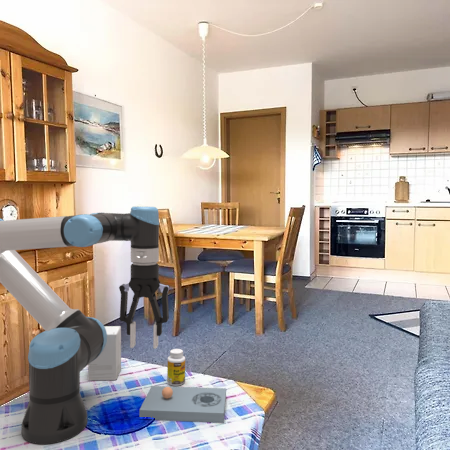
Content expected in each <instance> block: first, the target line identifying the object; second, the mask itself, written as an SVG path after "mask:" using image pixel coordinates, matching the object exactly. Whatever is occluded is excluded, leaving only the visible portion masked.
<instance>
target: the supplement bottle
mask: <svg viewBox="0 0 450 450" xmlns="http://www.w3.org/2000/svg"><path fill="white" fill-rule="evenodd" d="M169 352H170V353H169V356H168V357H167V371H166V372H167V375H166V376H167V377H166V379H167V384H168V386H172V387H181V385H184V384H185V382H186V356H184V351H183V349H181V348H173V349H171V350H170V351H169Z"/></svg>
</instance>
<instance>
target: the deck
mask: <svg viewBox="0 0 450 450" xmlns="http://www.w3.org/2000/svg"><path fill="white" fill-rule="evenodd" d="M165 387H170V388H171V389H172V390H173V394H172V396H171V397H170V398H168V399H166V398H164V397H163V396H162V390H163V389H164V388H165ZM226 401H227V388H226V387H225V388H223V387H222V388H221V387H220V388H218V387H197V386H196V387H195V386H172V385H167V386H166V385H151V386H150V388H149V390H148V392H147V394H146V396H145V399H144V400H143V402H142V403H141V406H140V408H139V412H138V413H139V415H138V416H139V417H151V418H152V417H153V418H155V420H154V421H171V422H172V421H173V422H194V423H195V422H199V423H221V424H222V423H223V424H224V421H225V413H226Z"/></svg>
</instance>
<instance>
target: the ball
mask: <svg viewBox="0 0 450 450" xmlns="http://www.w3.org/2000/svg"><path fill="white" fill-rule="evenodd" d="M172 394H173V390H172V389H171V388H170V387H165V388H164V389H163V390H162V396H163V397H164V398H166V399H168V398H170V397H171V396H172Z"/></svg>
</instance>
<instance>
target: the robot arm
mask: <svg viewBox="0 0 450 450" xmlns="http://www.w3.org/2000/svg"><path fill="white" fill-rule="evenodd" d="M159 219H160V217H159V209H158V208H157V207H156V206H132V207H130V211H129V213H119V212H117V213H113V212H92V213H90V214H89V213H86V214H85V213H84V214H77V215H76V214H75V215H63V216H49V217H48V216H47V217H35V218H21V219H20V218H19V219H10V220H9V219H7V220H4V219H2V218H0V284H1V285H2V287H4V288H5V289H6V290H7V291H8V292H9V294H11V296H12V297H13V298H14V299H15V300H16V301H17V302H18V303H19V305H21V306H22V307H23V308H24V310H25V311H26V312H27V313H28V314H29V315H30V316H31V317H32V318H33V319H34V320H35V322H37V323H38V324H39V325H40V327H42V329H43V330H44V331H42V332H39V333H38V334H37V335H35V336H34V337H33V338H32V339H31V340H30V343H29V348H28V353H27V354H28V355H27V361H28V385H29V386H28V387H29V388H28V390H29V399H28V400H29V401H28V403H27V407H26V411H25V413H24V416H23V419H22V423H21V437H22V439H24V440H25V441H27V442H29V443H31V444H37V445H48V444H55V443H60V442H63V441H66V440H68V439H71V438H74V437H75V436H77V435H78V434H80V433H82V431H83V430H84V429H85V428H86V427H87V425H88V411H87V408H86V406H85V403H84V400H83V398H82V395H81V386H80V385H81V378H80V377H81V376H80V375H81V372H82V371H83V370H84V369H85V368H86V367H88V364H90V363H91V362H92V361H93V360H95V359H96V358H97V357H98V356H99V355H100V354H101V352H102V351H103V350H104V348H105V346H106V343H107V332H106V329H105V327H104V326H105V325H104V323H102V322H101V321H100V320H99V319H98V318H95V317H92V316H91V317H90V316H86V315H85V314H84V313H83V312H82V311H81V310H80V309H79V308H76V309H75V308H71V307H70V306H69V305H68V304H67V303H65V301H64V300H63V299H62V298H61V297H60V296H59V295H58V294H57V293H56V292H55V291H54V290H53V288H51V287H50V285H49V284H48V283H47V282H46V281H45V280H44V279H43V277H41V276H40V275H39V274H38V273H37V272H36V271H35V270H34V269H33V267H31V265H30V264H29V263H28V262H27V261H26V260H25V259H24V258H23V256H21V254H19V252H17V251H20V250H21V251H22V250H36V249H37V250H38V249H49V248H50V249H51V248H65V247H66V248H67V247H77V248H87V247H92V246H94V245H97V244H101V243H106V242H110V241H111V242H112V241H114V242H115V241H116V242H117V241H119V242H120V241H121V242H130V263H132V264H131V265H130V280H129V282H128V283H122V284H121V285H119V287H118V289H119V292H120V306H119V307H120V309H119V310H120V311H119V322H124V323H126V334H127V336H130V337H129V348H130V349H134V348H135V346H136V345H137V344H136V342H137V341H136V338H137V337H136V335H137V334H136V331H137V330H136V328H137V327H136V326H137V325H136V321H134V317H135V315H136V311H137V308H138V304H139V301H140V299H141V298H147V299H148V301H149V303H150V306H151V310H152V313H153V315H154V316H153V317H154V320H155V322H154V324H153V337H152V338H153V339H152V340H153V343H152V344H153V349H154V350H155V349H157V348H158V347H159V337H161V336H162V333H163V324H165V323H167V322H168V321H169V319H170V316H169V315H170V313H169V310H170V308H169V290H170V285H169V284H166V285H165V284H162V283H161V281H160V277H159V275H160V274H159V273H160V271H159V269H160V268H159V267H160V266H159V264H158V262H159V260H160V246H159V245H160V244H159V242H160V241H159V240H160V239H159V237H160V220H159ZM130 289H131V291H132V292H133V297H132V302H131V304H130V307H129V311H128V301H129V300H128V297H129V293H128V292H129V291H130ZM158 290H160V293H161V307H162V308H161V310H162V314H161V311H160V306H159V303H158V299H157V295H156V292H157V291H158Z"/></svg>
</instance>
